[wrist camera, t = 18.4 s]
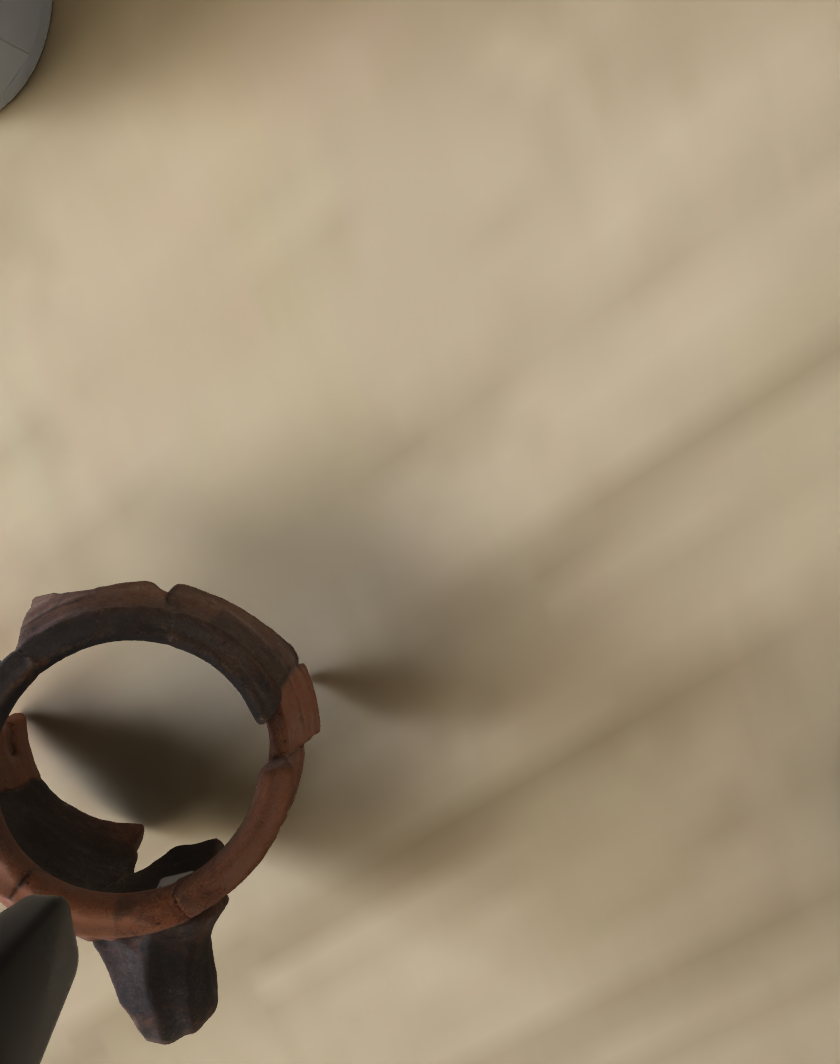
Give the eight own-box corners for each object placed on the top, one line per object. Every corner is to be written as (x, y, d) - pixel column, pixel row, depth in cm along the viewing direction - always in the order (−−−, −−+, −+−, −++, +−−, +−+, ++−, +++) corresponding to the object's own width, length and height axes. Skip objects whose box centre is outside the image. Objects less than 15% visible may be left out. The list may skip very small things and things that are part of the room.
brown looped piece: (-50, 634, 23) (-176, 651, 15) (253, 542, 26) (278, 517, 18) (70, 1010, 23) (7, 1219, 15) (360, 878, 26) (432, 998, 18)
